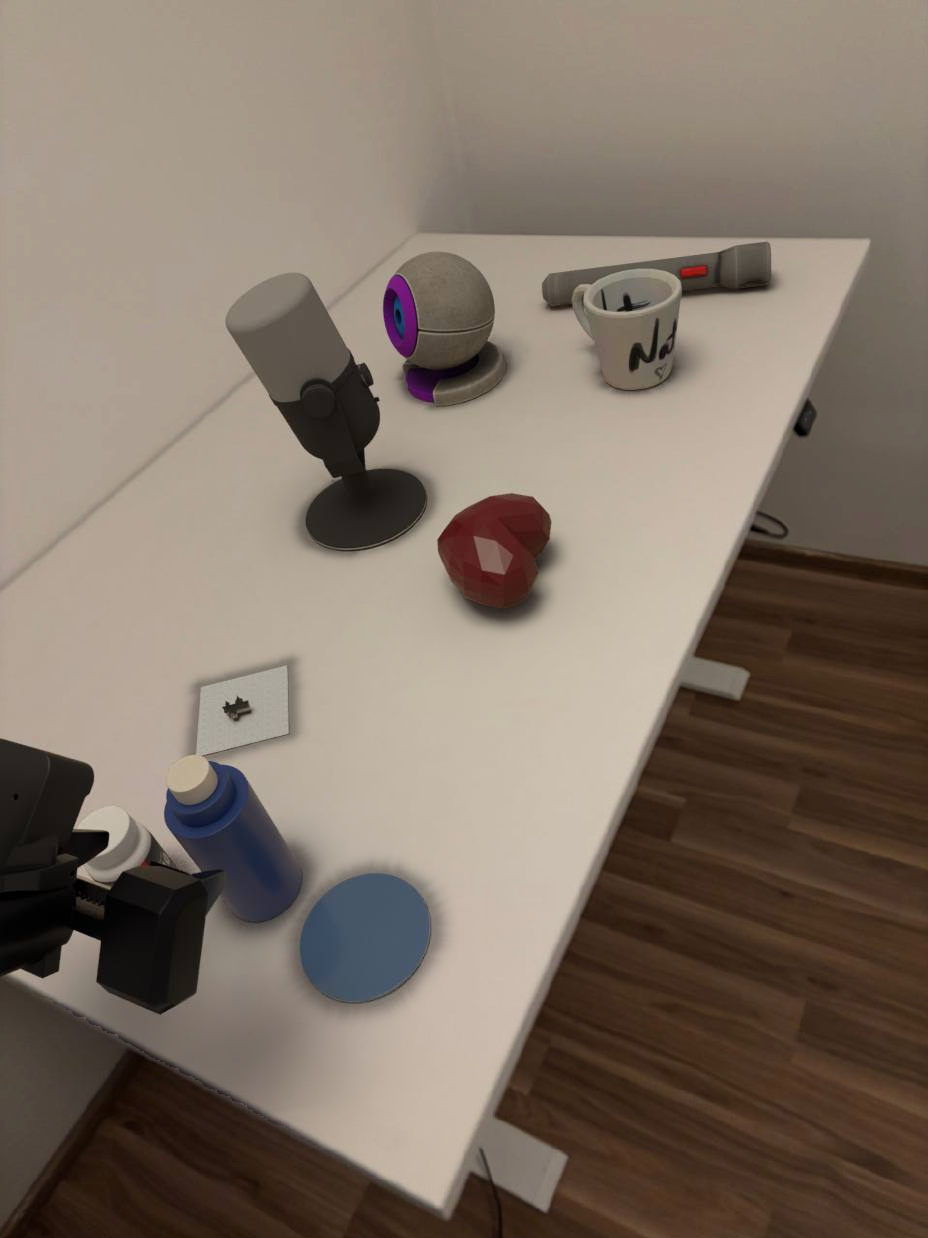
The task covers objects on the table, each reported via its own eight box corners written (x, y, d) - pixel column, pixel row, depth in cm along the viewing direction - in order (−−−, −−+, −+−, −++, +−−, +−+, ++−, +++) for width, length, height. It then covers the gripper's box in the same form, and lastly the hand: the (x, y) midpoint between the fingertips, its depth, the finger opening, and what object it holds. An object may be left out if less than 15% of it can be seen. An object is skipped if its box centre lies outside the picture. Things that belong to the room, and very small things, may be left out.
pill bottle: (161, 930, 65) (106, 870, 59) (110, 914, 67) (52, 854, 61) (196, 871, 68) (148, 809, 62) (146, 857, 70) (95, 795, 64)
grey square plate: (254, 695, 80) (247, 680, 78) (254, 719, 78) (246, 705, 76) (228, 701, 80) (220, 687, 78) (227, 726, 78) (219, 712, 76)
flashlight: (545, 270, 120) (538, 269, 116) (768, 242, 113) (771, 239, 108) (548, 310, 122) (541, 310, 117) (769, 284, 114) (771, 284, 109)
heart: (420, 615, 81) (528, 634, 79) (412, 550, 76) (527, 567, 74) (458, 530, 89) (557, 545, 87) (453, 466, 84) (559, 479, 82)
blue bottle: (264, 936, 63) (182, 826, 53) (212, 898, 66) (125, 787, 56) (318, 873, 66) (249, 757, 56) (265, 839, 69) (191, 723, 59)
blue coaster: (372, 1030, 57) (371, 1028, 57) (274, 957, 62) (272, 955, 61) (457, 913, 61) (456, 911, 61) (359, 854, 66) (358, 852, 66)
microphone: (307, 488, 101) (221, 270, 83) (421, 461, 100) (359, 235, 83) (306, 563, 91) (210, 334, 74) (432, 533, 91) (365, 296, 73)
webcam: (387, 375, 115) (354, 260, 105) (475, 337, 117) (452, 221, 107) (429, 418, 106) (398, 296, 96) (525, 375, 108) (504, 252, 98)
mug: (638, 408, 99) (632, 323, 92) (547, 369, 109) (535, 289, 102) (704, 365, 103) (703, 280, 96) (610, 330, 112) (602, 251, 105)
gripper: (88, 818, 37) (308, 761, 51) (-194, 725, 44) (66, 698, 59) (58, 1082, 38) (283, 953, 52) (-214, 946, 45) (48, 866, 59)
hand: (163, 858), depth 55 cm, fingers open, 9 cm apart
